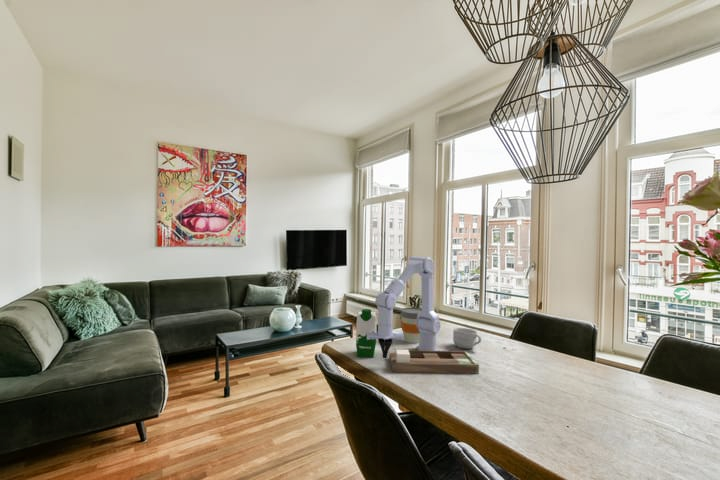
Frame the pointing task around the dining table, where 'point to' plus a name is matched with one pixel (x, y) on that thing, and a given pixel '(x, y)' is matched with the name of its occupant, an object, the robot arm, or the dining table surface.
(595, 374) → the dining table surface
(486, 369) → the dining table surface
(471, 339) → the teacup
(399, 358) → the block
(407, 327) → the reusable coffee cup
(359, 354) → the milk carton
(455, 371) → the trap box
